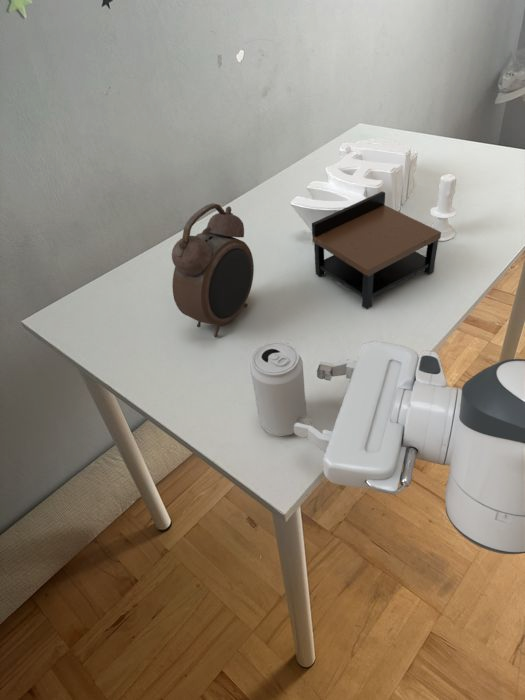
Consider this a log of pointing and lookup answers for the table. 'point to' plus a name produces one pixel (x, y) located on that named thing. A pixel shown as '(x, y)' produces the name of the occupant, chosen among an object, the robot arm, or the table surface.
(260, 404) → the beverage can
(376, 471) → the robot arm
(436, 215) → the candle
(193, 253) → the alarm clock
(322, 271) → the miniature side table
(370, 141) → the wavy white extrusion
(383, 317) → the table surface
